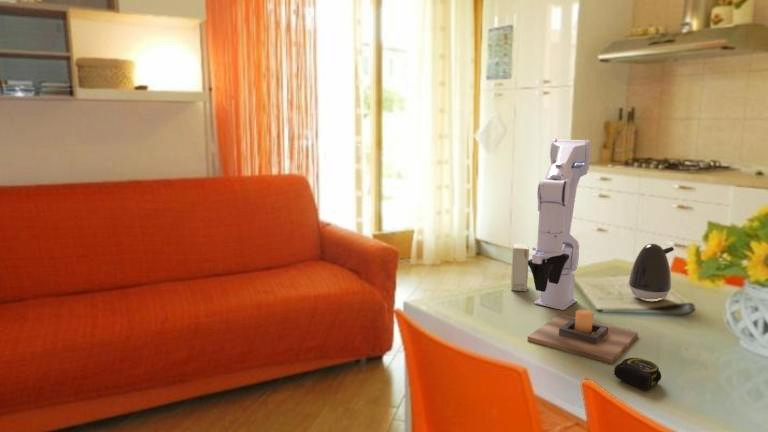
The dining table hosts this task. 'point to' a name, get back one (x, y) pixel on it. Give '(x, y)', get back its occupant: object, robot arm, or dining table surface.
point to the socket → (584, 338)
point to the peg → (584, 321)
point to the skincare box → (519, 267)
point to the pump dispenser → (651, 273)
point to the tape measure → (638, 372)
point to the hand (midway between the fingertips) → (547, 286)
